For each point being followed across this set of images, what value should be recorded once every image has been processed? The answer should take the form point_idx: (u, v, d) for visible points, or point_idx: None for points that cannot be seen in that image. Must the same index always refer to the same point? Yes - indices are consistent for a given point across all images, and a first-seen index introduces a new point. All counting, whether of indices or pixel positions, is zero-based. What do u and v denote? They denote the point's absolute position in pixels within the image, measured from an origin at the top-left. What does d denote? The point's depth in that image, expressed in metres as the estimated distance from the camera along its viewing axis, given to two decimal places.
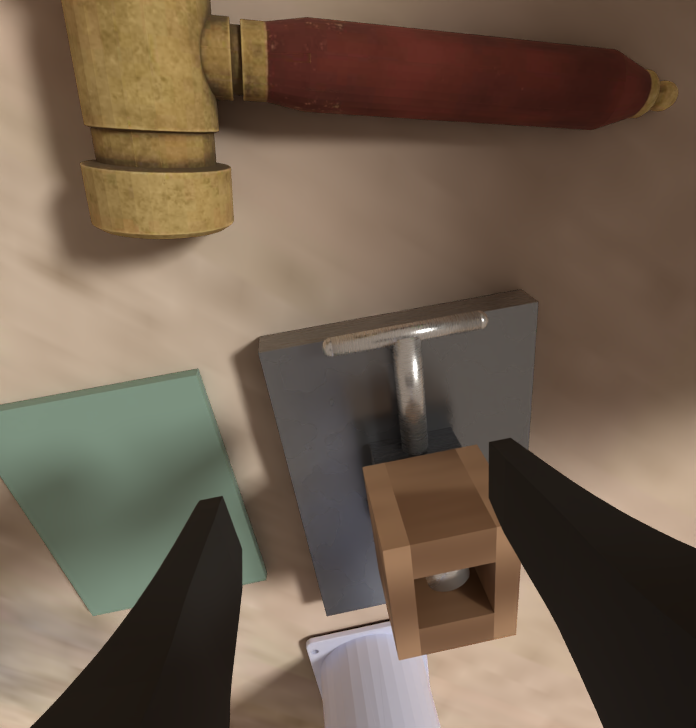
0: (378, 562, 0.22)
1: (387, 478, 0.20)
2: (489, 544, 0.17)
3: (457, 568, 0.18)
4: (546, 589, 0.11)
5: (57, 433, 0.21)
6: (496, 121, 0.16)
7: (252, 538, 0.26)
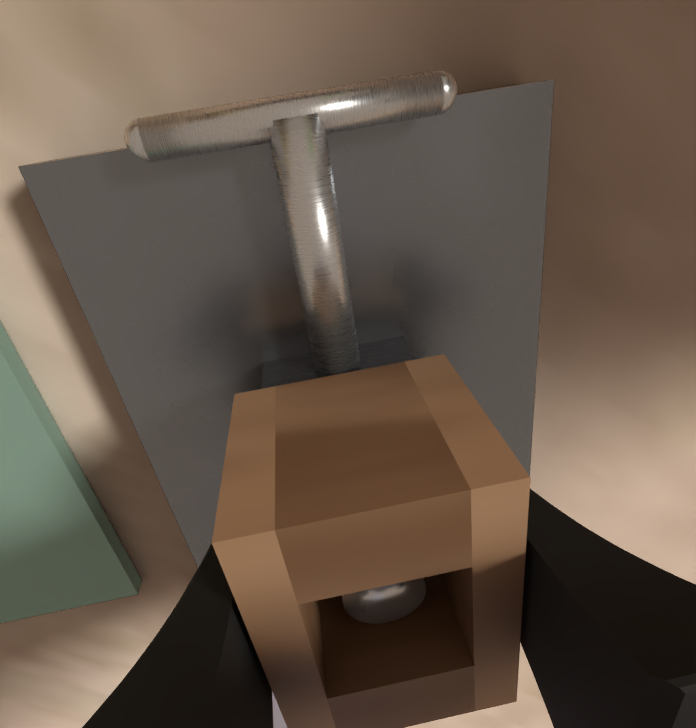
0: None
1: (271, 409, 0.10)
2: (456, 529, 0.08)
3: (391, 581, 0.08)
4: None
5: None
6: None
7: (103, 530, 0.16)
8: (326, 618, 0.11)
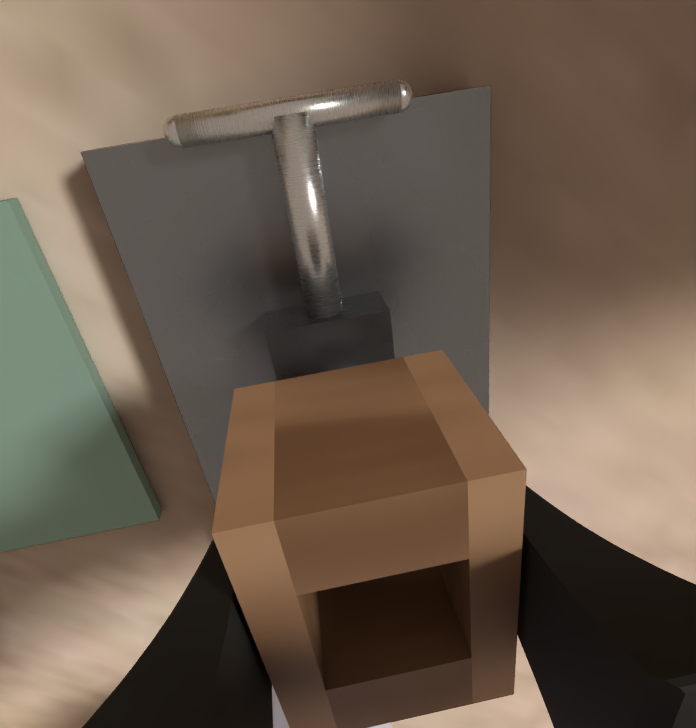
0: None
1: (271, 403, 0.11)
2: (453, 520, 0.08)
3: (389, 572, 0.08)
4: None
5: None
6: None
7: (132, 461, 0.20)
8: (325, 611, 0.11)
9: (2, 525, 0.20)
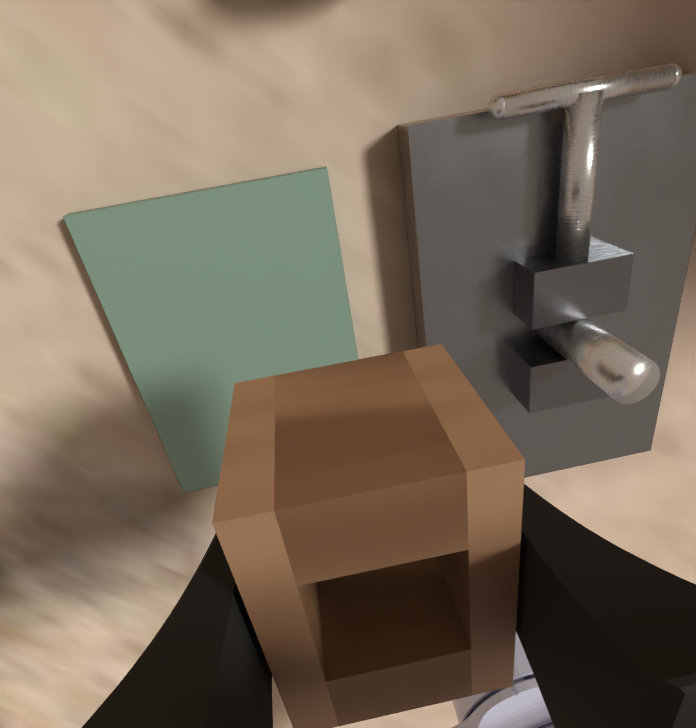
0: None
1: (271, 397, 0.11)
2: (452, 511, 0.08)
3: (388, 562, 0.09)
4: None
5: (166, 243, 0.18)
6: None
7: None
8: (325, 604, 0.12)
9: None
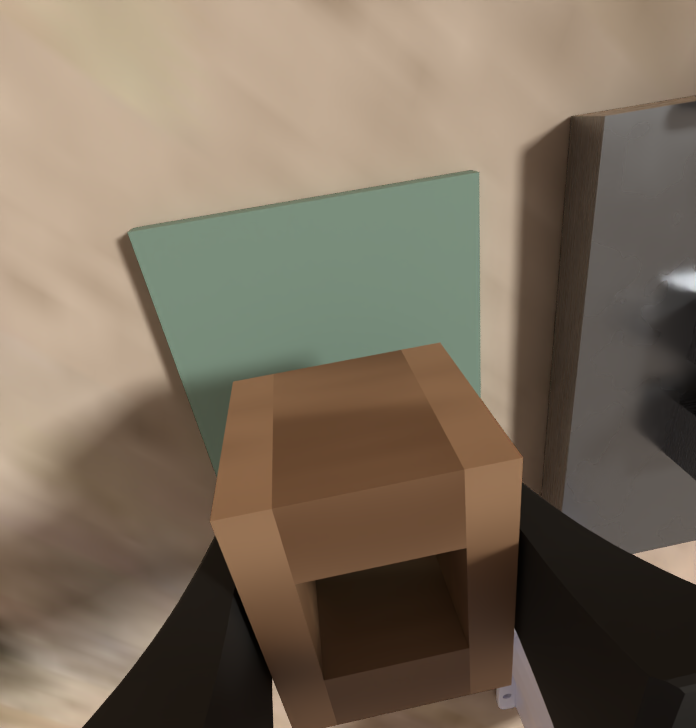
0: None
1: (269, 395, 0.11)
2: (450, 509, 0.08)
3: (386, 561, 0.08)
4: None
5: (260, 268, 0.14)
6: None
7: None
8: (323, 603, 0.11)
9: None
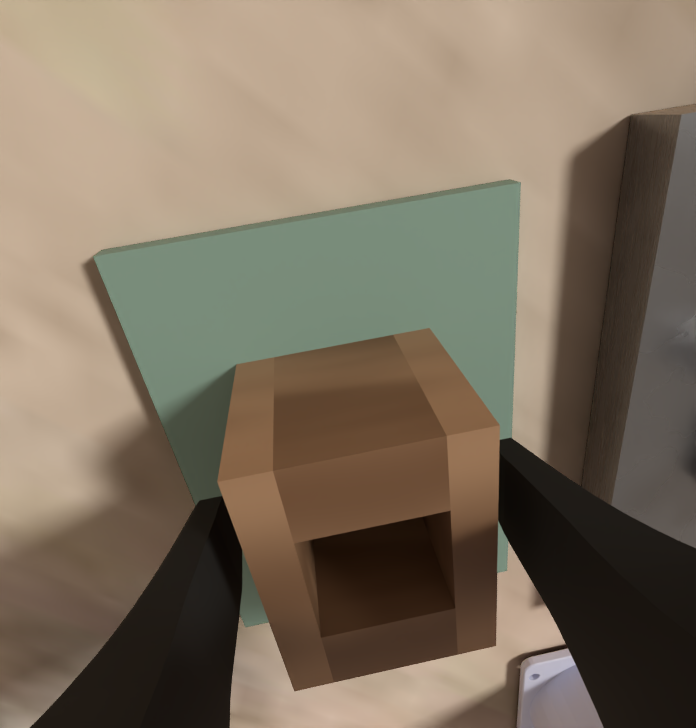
0: None
1: (270, 376, 0.11)
2: (435, 473, 0.09)
3: (377, 522, 0.09)
4: (546, 589, 0.11)
5: (255, 298, 0.11)
6: None
7: None
8: (321, 571, 0.12)
9: None
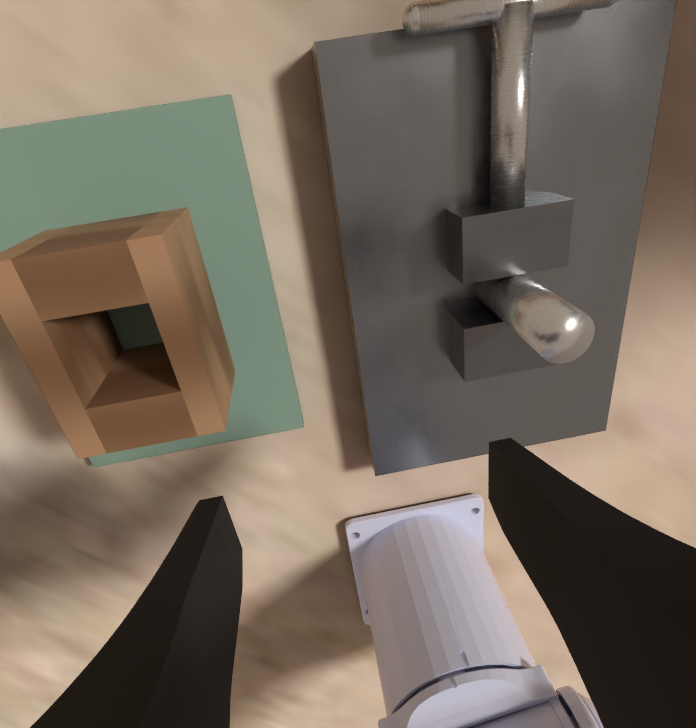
0: None
1: (58, 232, 0.16)
2: (127, 270, 0.14)
3: (97, 308, 0.14)
4: (546, 589, 0.11)
5: (49, 177, 0.16)
6: None
7: (289, 364, 0.21)
8: (105, 381, 0.17)
9: None
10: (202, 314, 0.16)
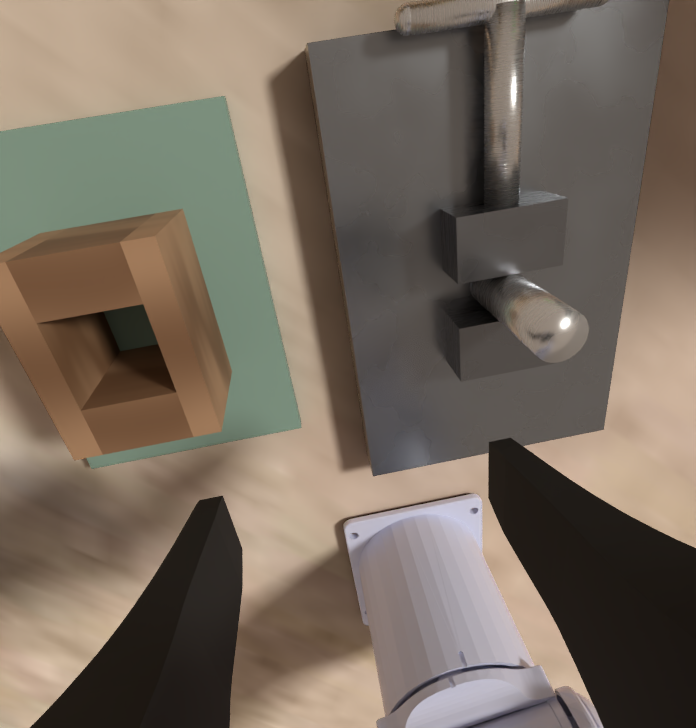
0: None
1: (54, 234, 0.16)
2: (121, 272, 0.14)
3: (92, 310, 0.14)
4: (546, 589, 0.11)
5: (44, 180, 0.16)
6: None
7: (286, 365, 0.21)
8: (102, 382, 0.17)
9: None
10: (197, 315, 0.16)
